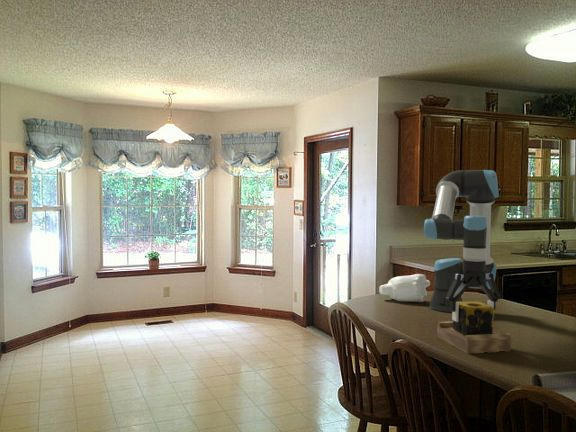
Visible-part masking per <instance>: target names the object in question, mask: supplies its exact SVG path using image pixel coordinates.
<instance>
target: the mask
mask: <svg viewBox="0 0 576 432" xmlns="http://www.w3.org/2000/svg"><path fill="white" fill-rule="evenodd" d="M429 286H431V281H430V280H428V279H427V276H426V275H425V274H422V273H414V274H411V275H400V276H399V275H398V276H395V277H391V279H389V280H388V282H387V283H385V284H382V285H379V289H378V292H379V294H380V295H383V296H384V295H385V296H388V297H390V298H391V299H393V301H397V302H413V303H414V302H415V303H423V302H424V301H425V300H424V297H427V296H428V293H427V292H428V291H427V289H426V288H427V287H429Z"/></svg>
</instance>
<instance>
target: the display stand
mask: <svg viewBox="0 0 576 432" xmlns="http://www.w3.org/2000/svg"><path fill="white" fill-rule="evenodd" d="M436 330H437V331H436V337H437V338H439V339H440V340H442V341H444V342H446V343H447V344H449V345H451V346H453V347H454V346H455V348H456V349H458V350H460V351H462V352H463V353H466V354H469V355H470V354H483V353H484V352H488V353H500V352H499V351H505V352H511V349H512V347H511V346H512V345H511V344H512V339H511V335H512V334H510V333H506V332H505V333H497V332H495V331H493V332H492V333H493V334H483V335H463V334H461V333H460V332H458V331H456V330H455V329H453V320H452V321H438V322H437V326H436ZM484 354H485V353H484Z"/></svg>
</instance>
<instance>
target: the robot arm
mask: <svg viewBox="0 0 576 432" xmlns="http://www.w3.org/2000/svg"><path fill="white" fill-rule="evenodd" d="M435 195H436V198H435V204H434V208H433V212H432V216H431V218H426V219H425V220H424V223H423V224H424V225H423V234H424V237H425V238H427V239H433V240H452V241H453V240H455V241H463V246H462V247H463V250H462V258H463V260H462V259H461V258H460V257H450V258H441V259H438V260H436V261H435V263H434V268H433V271H434V273H433V275H434V277H433V293H432V296H431V299H430V301H429V308H430V309H431V310H434V311H439V312H444V313H445V312H446V313H451V320H452V321H453V320H454V321H456V322H458V310H459V303H457V302H464V301H463V299H462V295H463V294H464V292H465V291H467V290H468V289H479V290H480V289H481V290H482V292H484V294H486V296H487V298H488V299H487V301H486V305H489V306H491V307H493V308H494V311H495V310H496V308H497V307H496V302H498V301H499V300H501V299H502V296H501V293H500V290H499V289H498V287H497V284H496V281H495V280H496V276H497V275H496V274H497V267H498V265H497V263H495V262H494V259H493V257H491V229H492V228H491V223H492V220H491V218H492V205H493V204H494V203H495V202H496V199H498V198H499V197H500V196H499V195H500V194H499V185H498V177H497V172H496V171H495V170H492V169H489V170H488V169H469V170H468V169H467V170H462V169H461V170H460V169H459V170H454V171H452V172H449V173H447V174H446V175H444V176H443V177H442V178H441V179H440V180H439V182H438V183H437V185H436V188H435ZM458 197H459V198H465V199H466V203H467V204H469V215H465V216H464V219H453V217H454V211H455V204H456V199H457V198H458ZM494 311H493V317H494V316H495V315H494Z"/></svg>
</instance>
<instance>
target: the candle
mask: <svg viewBox="0 0 576 432" xmlns="http://www.w3.org/2000/svg"><path fill="white" fill-rule="evenodd" d="M457 303H459V310H458V322H456V321H454V320H452V321H453V329H455V330H456V331H458V332H460V333H461V334H463V335H483V334H493V333H492V332H494V331H493V330H494V327H493V323H494V321H493V320H494V316H493V311H495V310H494V308H493V307H491V306H489V305H487V303H483V302H481V301H471V300H470V301H463V302H457Z"/></svg>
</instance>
